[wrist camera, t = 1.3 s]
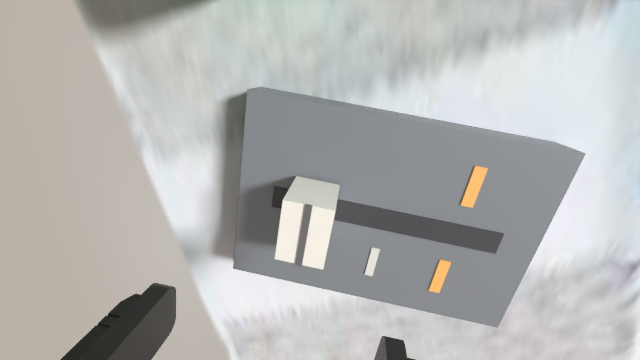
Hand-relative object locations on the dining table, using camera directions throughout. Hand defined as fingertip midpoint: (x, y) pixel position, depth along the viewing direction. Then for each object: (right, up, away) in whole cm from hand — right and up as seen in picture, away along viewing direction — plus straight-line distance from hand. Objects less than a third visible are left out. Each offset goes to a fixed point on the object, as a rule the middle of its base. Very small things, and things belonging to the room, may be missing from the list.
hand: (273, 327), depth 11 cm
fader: (+1, +4, +10) cm, 10 cm away
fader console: (+7, +4, +13) cm, 15 cm away
